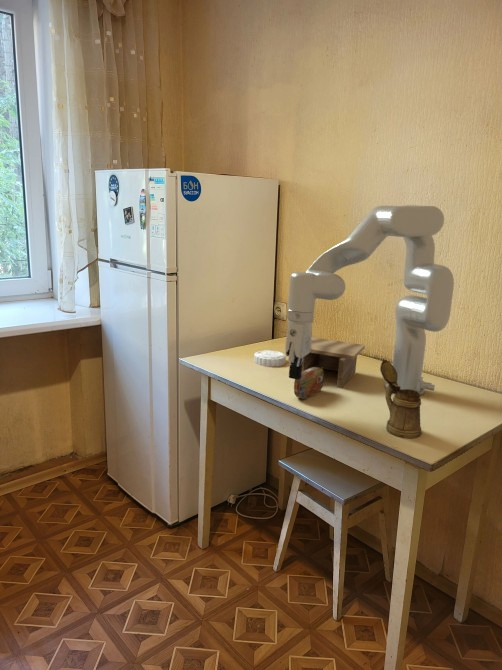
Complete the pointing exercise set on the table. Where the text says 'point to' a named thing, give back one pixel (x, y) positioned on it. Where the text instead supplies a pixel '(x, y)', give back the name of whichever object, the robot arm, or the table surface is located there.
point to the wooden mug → (401, 405)
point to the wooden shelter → (333, 357)
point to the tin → (309, 383)
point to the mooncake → (269, 358)
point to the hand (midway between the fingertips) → (294, 378)
